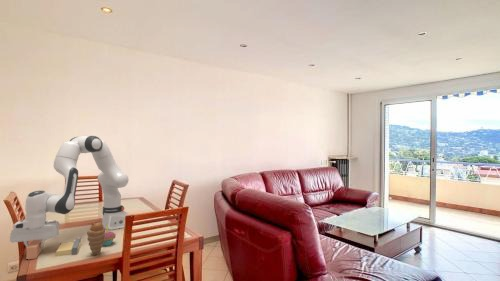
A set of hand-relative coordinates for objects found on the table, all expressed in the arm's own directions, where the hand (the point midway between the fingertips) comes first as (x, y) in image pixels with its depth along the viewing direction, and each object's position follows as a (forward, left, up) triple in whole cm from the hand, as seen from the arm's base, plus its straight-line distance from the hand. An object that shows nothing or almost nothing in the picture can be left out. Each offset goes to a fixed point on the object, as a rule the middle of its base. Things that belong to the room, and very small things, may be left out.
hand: (34, 247), depth 141 cm
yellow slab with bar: (-15, 0, -4) cm, 16 cm away
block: (0, 0, -4) cm, 4 cm away
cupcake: (-34, -2, -4) cm, 34 cm away
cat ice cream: (-29, +11, -4) cm, 31 cm away
